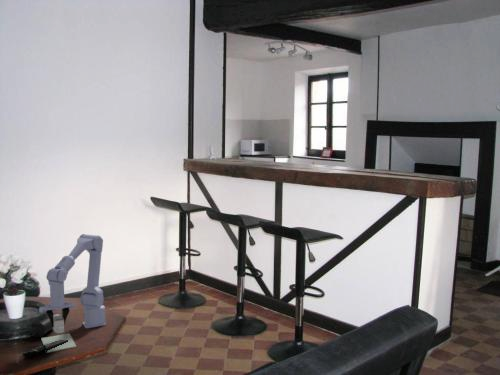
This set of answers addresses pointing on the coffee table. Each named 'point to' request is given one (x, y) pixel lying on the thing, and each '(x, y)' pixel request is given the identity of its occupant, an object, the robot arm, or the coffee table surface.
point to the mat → (56, 338)
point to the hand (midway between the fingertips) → (58, 325)
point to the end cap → (41, 326)
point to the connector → (58, 323)
